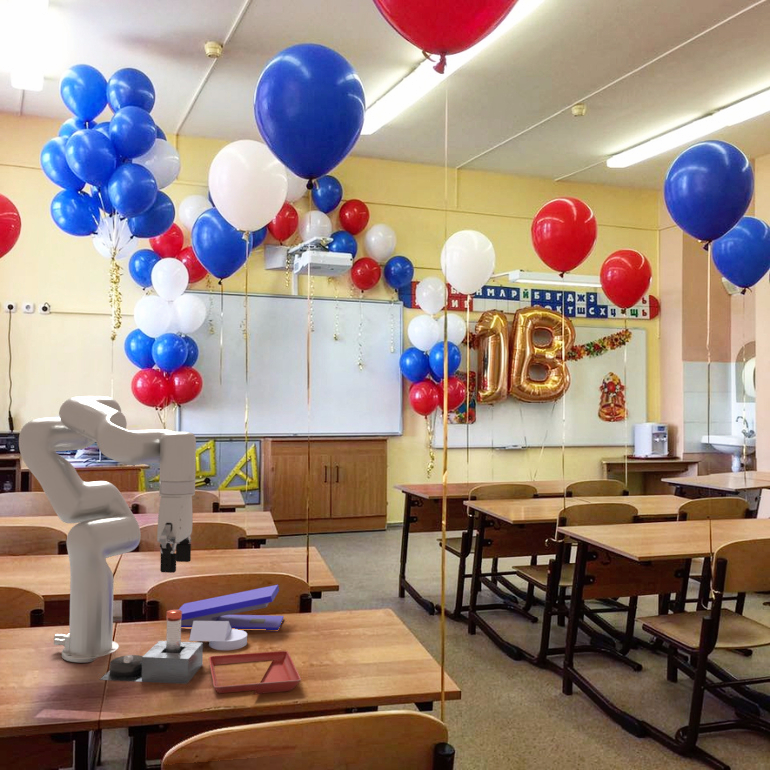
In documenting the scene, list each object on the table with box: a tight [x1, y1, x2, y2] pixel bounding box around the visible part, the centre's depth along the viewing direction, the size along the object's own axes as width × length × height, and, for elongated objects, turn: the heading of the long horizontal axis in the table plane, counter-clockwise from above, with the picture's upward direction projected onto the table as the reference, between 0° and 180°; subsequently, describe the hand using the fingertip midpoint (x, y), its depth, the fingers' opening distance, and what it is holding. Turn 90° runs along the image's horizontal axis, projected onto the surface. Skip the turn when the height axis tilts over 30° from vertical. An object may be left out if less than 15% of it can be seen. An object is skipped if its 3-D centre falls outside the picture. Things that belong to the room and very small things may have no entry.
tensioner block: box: [98, 640, 204, 685], centre depth 161 cm, size 19×11×6 cm, turn 87°
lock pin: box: [165, 609, 182, 653], centre depth 161 cm, size 3×3×13 cm
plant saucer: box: [208, 650, 302, 695], centre depth 161 cm, size 18×18×3 cm
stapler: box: [177, 584, 284, 630], centre depth 198 cm, size 12×28×10 cm, turn 90°
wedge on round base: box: [188, 621, 248, 651], centre depth 180 cm, size 9×7×13 cm
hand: (175, 566), depth 161 cm, fingers open, 9 cm apart
